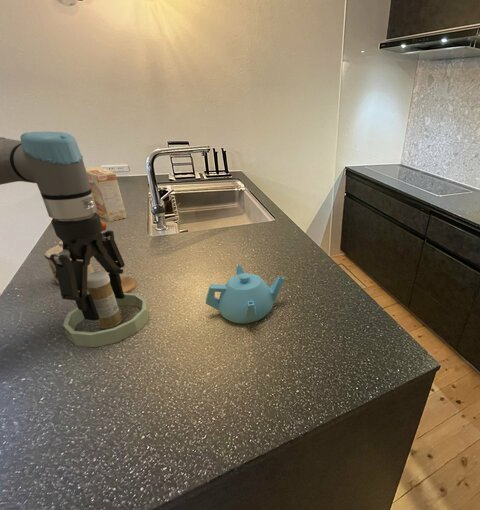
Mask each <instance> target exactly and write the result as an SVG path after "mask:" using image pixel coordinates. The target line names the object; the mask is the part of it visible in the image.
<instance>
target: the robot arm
mask: <svg viewBox="0 0 480 510" xmlns="http://www.w3.org/2000/svg"><path fill="white" fill-rule="evenodd" d="M19 139H20V140H18V139H12V138H6V137H2V136H0V185H6V184H11V183H17V182H24V183H32V184H36V186H37V188H38V191H39V193H40V195H41V198H42V201H43V203H44V206H45V209H46V212H47V214H48V217H49V218H51V220H50V222H51V225H52V228H53V231H54V233H55V236H56V237H57V238H58V239H59V240H60V241H62V242H63V247H62V248H63V250H62V251H61V252H60V253H58V254H52V255H51V256H50V259H51V261H52V262H53V264H54V265H55V268H56V273H57V277H58V281H59V284H58V285H59V286H58V287H59V290H60V295H61V298H62V300H67V301H68V300H69V301H74V303H75V305H76V307H78V309H79V310H82V313H83V316H84V318H85V319H84V320H86V321H96V322H97V321H98V319H100V318H99V315H98V313H97V310H96V307H95V304H94V301H93V298H92V296H91V294H89V293H88V290H87V271H88V265H89V264H90V261H91V259H92V258H94V259H95V260H96V261H97V262H98V263H99V265H100V266H101V267H102V268H103V269H104V270H105V272H107V273H108V275H109V278H110V284H111V287H112V290H113V292H114V295H115V298H117V299H123V298H125V296H124V293H123V289H122V286H121V283H122V281H121V278H120V277H121V274H124V269H123V268H124V267H125V265H126V264H125V261H124V259H123V257H122V254H121V252H120V249H119V248H118V245H117V243H116V241H115V235H114V233H115V232H114V231H113V230H108V229H106V230H103V227H102V223H101V221H102V220H101V217H100V216H99V214H97V213H96V212H97V208H96V205H95V201H94V198H93V195H92V191H91V187H90V183H89V180H88V176H87V173H86V169H85V167H86V166H85V162H84V157H83V155H82V153H81V151H80V150H81V149H80V148H79V145H78V142H77V139H76V138H75V137H74V136H73V135H72V134H71V133H68V132H63V131H28V132H24V133H21V135H20V138H19ZM77 259H78V260H83V261H77Z"/></svg>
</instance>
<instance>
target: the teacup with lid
mask: <svg viewBox="0 0 480 510" xmlns="http://www.w3.org/2000/svg"><path fill="white" fill-rule="evenodd" d="M62 247H63V242H62V240H60V241H59V242H58V244H57V245H55V246H53V247H51V248H49V249H48V250H46V251H45V254H44V258H45V259H46V260H47V262H48V264H49V267H50V270H51V272H52V274H53V277H54V280H55V282H56V283H57V284H58V285H59V281H58V277H57V273H56V268H55V265H54V264H53V262H52V261H51V259H50V256H51V255H52V254H58V253H60V252H61V251H62V250H63V248H62ZM77 261H83V260H78V259H77ZM92 272H95V270H94V268H93V265H92V261H91V260H90V264H89V265H88V271H87V274H89V273H92Z"/></svg>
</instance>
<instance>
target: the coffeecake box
mask: <svg viewBox="0 0 480 510" xmlns="http://www.w3.org/2000/svg"><path fill="white" fill-rule="evenodd" d="M85 169H86V173H87V176H88V180H89V183H90V187H91V191H92V195H93V198H94V201H95V205H96V208H97V212H96V213H97V214H99V217H100V218H101V219H103V220H105V221H106V222H109V223H112V222H115V221H114V220H116V221H120V220H124V219H123V218H125V219H127V218H128V215H127V213H126V208H125V206H124V201H123V196H122V194H121V190H120V186H119V182H118V179H117V174H116V172H114V171H111V170H109V169H106V168H104V167H101V166H88V167H87V166H85ZM119 219H120V220H119ZM111 221H112V222H111Z"/></svg>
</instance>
